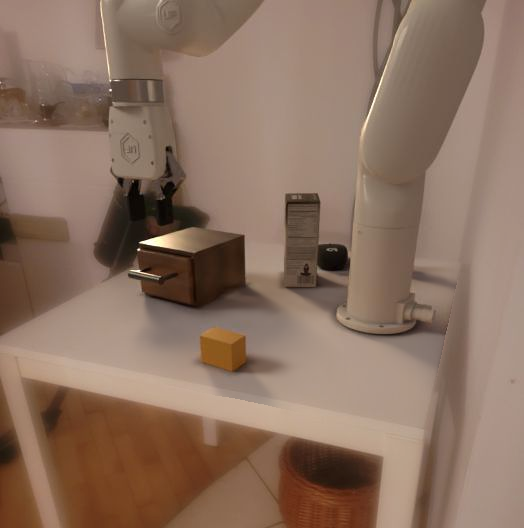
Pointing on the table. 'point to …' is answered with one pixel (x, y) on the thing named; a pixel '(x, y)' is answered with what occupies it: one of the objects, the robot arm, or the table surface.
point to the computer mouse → (332, 256)
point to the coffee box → (301, 239)
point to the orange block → (223, 348)
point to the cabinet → (206, 260)
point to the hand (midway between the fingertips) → (151, 221)
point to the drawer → (165, 275)
